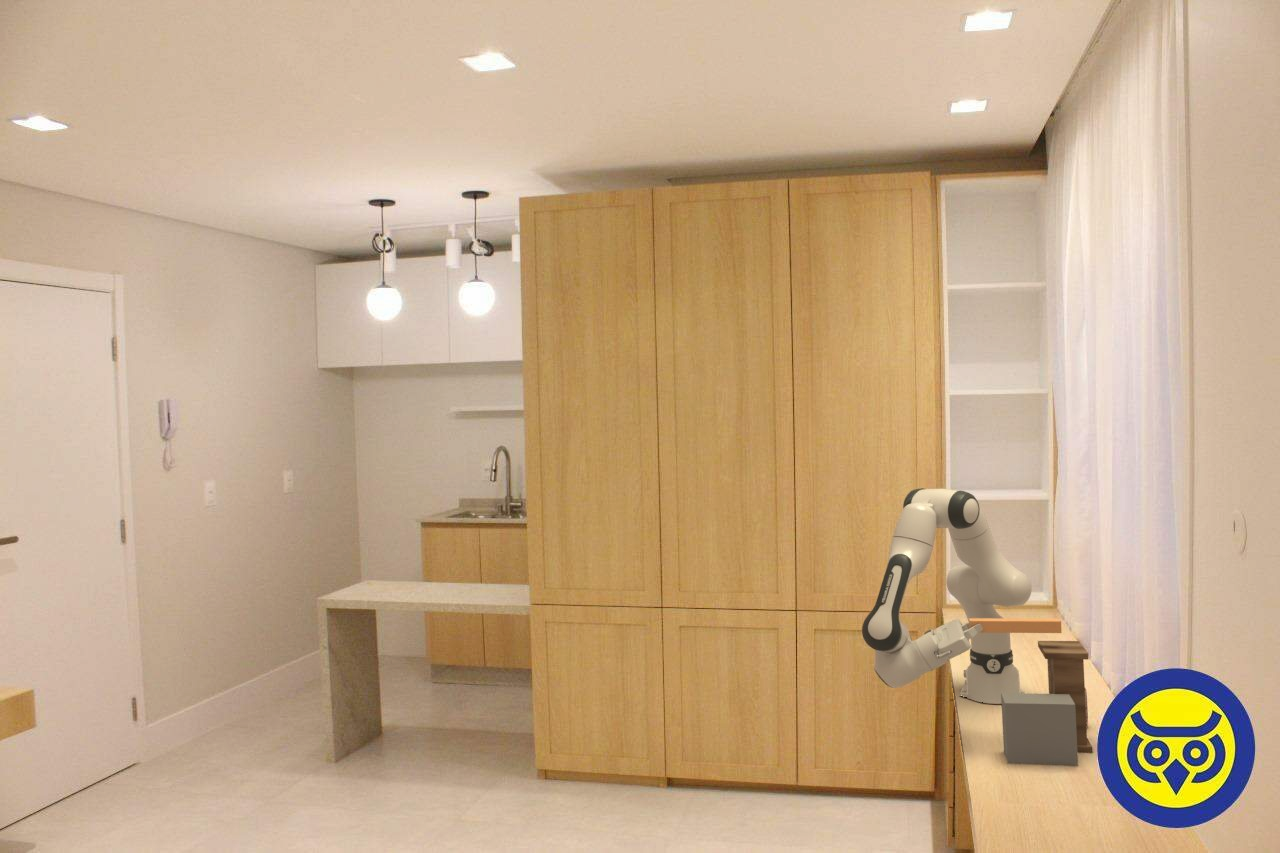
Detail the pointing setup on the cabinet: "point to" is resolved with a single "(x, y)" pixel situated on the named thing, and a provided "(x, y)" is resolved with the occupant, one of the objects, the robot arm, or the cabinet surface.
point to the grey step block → (1039, 729)
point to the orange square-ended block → (1017, 625)
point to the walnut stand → (1069, 680)
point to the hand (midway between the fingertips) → (980, 623)
